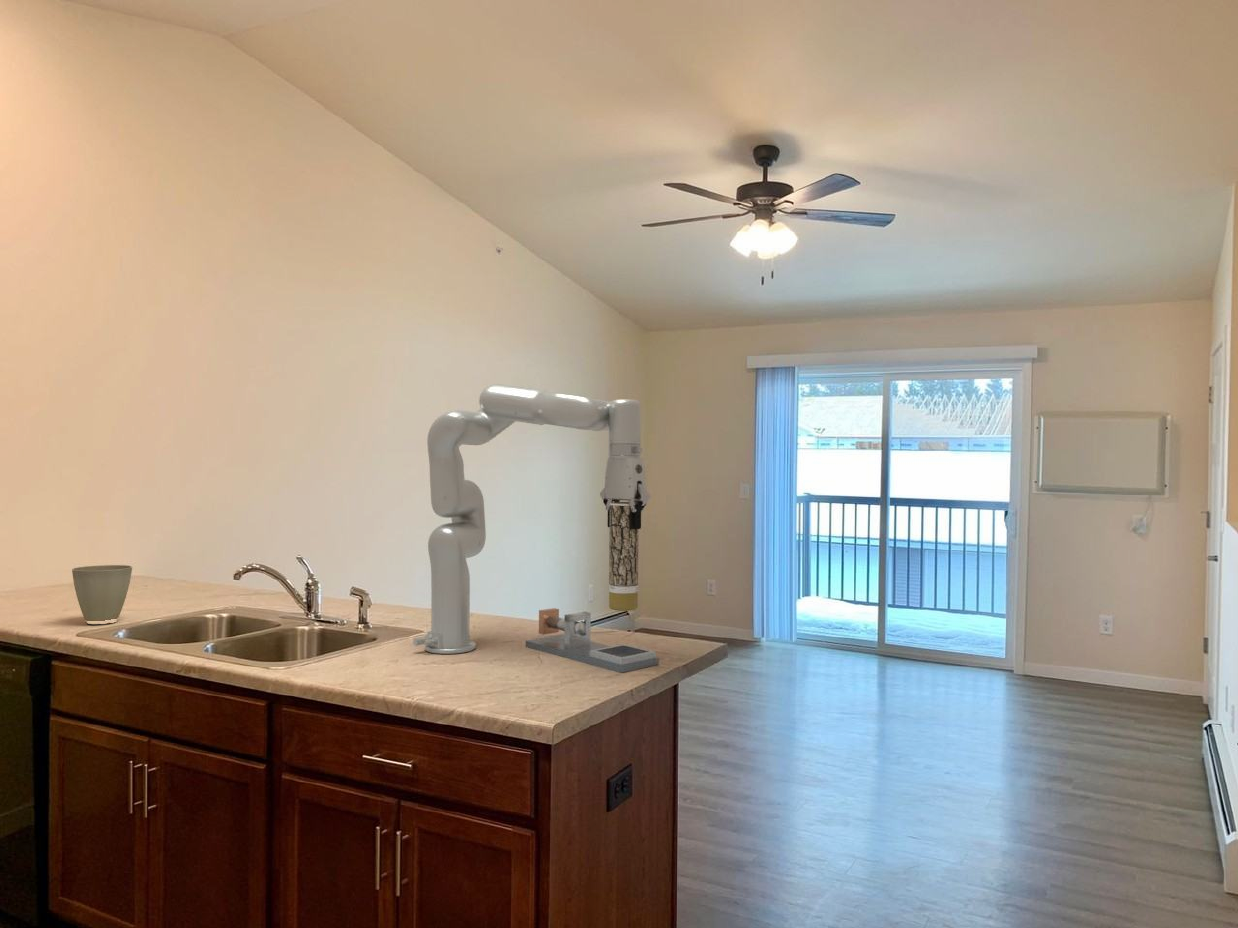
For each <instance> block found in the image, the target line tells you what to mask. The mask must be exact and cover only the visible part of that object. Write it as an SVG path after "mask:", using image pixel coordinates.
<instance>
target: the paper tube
mask: <svg viewBox="0 0 1238 928" xmlns="http://www.w3.org/2000/svg"><path fill="white" fill-rule="evenodd" d="M634 503H635V505H636V502H634ZM630 512H632V510H631V507H630V504H629V501H620V502H614V501H613V502H610V527H609V535H608V536H609V541H608V542H609V544H608V545H609V546H608V547H609V548H608V549H609V551H608V552H609V555H608V556H609V557H608V558H609V559H608V560H609V561H608V563H609V564H608V567H609V568H608V571H609V573H608V583H609V584H608V607H609V609H611V610H613V611H617V612H629V611H634V610H637V609H638V608H639V607H638V605H639V603H638V602H639V597H638V596H639V594H638V593H639V529H630V528H629V519H630Z"/></svg>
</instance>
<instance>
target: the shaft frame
mask: <svg viewBox="0 0 1238 928" xmlns="http://www.w3.org/2000/svg"><path fill="white" fill-rule="evenodd" d="M591 615H592V614H591V612H588V611H583V612H574V613H569V614H564V619H565V620H564V631H563V633H564V634H555V635H551V636H550V635H549V636H545V637H538V638H533V639H532V638H531V639H526V640H525V641H524V643H525V647H526V648H530V649H533V650H536V649H537V650H538V651H540V650H541V652H544V653H548V654H551V655H555V656H559V657H562V658H566V659H569V660H572V661H573V660H574V661H578V662H581V663H585V664H588V665H590V666H591V665H592V666H595V667H599V668H602V669H607V670H610V671H614V672H617V673H621V674H622V673H627V672H631V671H636V670H641V669H644V668H648V667H649V668H650V667H655V666H658V665H660V662H659V661H660V660H659V659H660V658H659V657H657V655H656V654H657V651H655V650H650V649H646V648H641V647H637V646H633V645H630V644H625V643H622V644H619V645H617V644H615V645H608V644H602V643H599V642H594V641H592V640H591V624H592V623H591V622H592V621H591V620H592V619H591ZM574 621H577V622H581V623H584V624H585V625H586V631H585V633H584V634H583V635H579V634H574Z"/></svg>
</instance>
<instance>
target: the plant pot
mask: <svg viewBox="0 0 1238 928" xmlns="http://www.w3.org/2000/svg"><path fill="white" fill-rule="evenodd" d="M132 571H133V566H132V565H127V564H126V565H125V564H102V565H99V564H98V565H89V566H88V565H87V566H85V565H84V566H79V567H77V566H76V567H73V568H72V569H71V573H72V579H73V580H72V581H73V586H74V590H75V594H76V599H77V602H78V606H79V608H80V611H81V614H82V616H83V618H84V621H85V620H86V621H105V620H111V619H117V618H118V619H119V617H120V615H121V612H122V610H123V607H124V605H125V602H126V598H127V594H128V591H129V587H130V582H131V577H132ZM86 621H85V622H86Z"/></svg>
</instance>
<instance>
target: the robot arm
mask: <svg viewBox="0 0 1238 928" xmlns="http://www.w3.org/2000/svg"><path fill="white" fill-rule="evenodd" d="M478 403H479V407H480V409H478V410H477V411H469V410H460V409H459V410H451V411H447V412H445V413H443V414H441V415H439V416H438V417H437V418H436V419H435V420H434V421H433V422H432V424H431V426H430V428H429V431H428V433H427V439H426V440H427V443H426V444H427V454H428V461H429V462H428V463H429V464H428V465H429V486H430V501H431V502H430V504H431V508H432V510H433V512H434V513H435V515H437V516H438V517H440V518H446V519H449V518H451V522H448V523H444V524H441V525H439V526H437V527H436V528H435V529H433V530H432V532H431V533H430V535H429V538H428V542H427V549H428V550H427V551H428V557H429V562H430V563H429V564H430V572H431V573H430V574H431V575H430V576H431V577H430V579H431V581H430V583H431V585H430V586H431V588H430V589H431V593H430V594H431V598H430V599H431V604H430V605H431V607H430V609H431V613H430V614H431V615H430V616H431V618H430V619H431V621H430V623H431V624H430V629H431V630H429V631H427V633H426V634H425V635H424V636H417V637H413V639H412V640H413V642H412V643H413V645H414V646H416V647H417V646H422V645H423V646H424V650H425V651H426V652H427V653H431V654H441V655H445V654H447V655H448V654H449V655H450V654H452V655H453V654H461V653H463V654H464V653H466V652H468V653H469V652H471V651H473V650H475V649H476V648H477V646H476V642H475V641H473V640H470V618H471V617H470V614H471V613H470V611H471V610H470V609H471V608H470V604H471V602H470V601H471V598H470V597H471V593H470V592H471V590H470V589H471V586H470V585H471V580H470V579H471V578H470V576H471V575H470V570H469V566H468V561H467V559H468V558H470V559H471V558H472V557H475V556H477V555H479V554H480V553H481V552H482V551H483V549H484V547H485V544H486V536H487V535H486V534H487V533H486V532H487V531H486V519H485V518H486V516H485V515H486V514H485V500H484V496H483V492H482V490H481V489H480V486H478V485H477V484H476V483H475V482H474V481H472V480H469V479H466V478H465V473H464V472H465V471H464V469H465V467H464V466H465V465H464V460H463V456H462V453H461V451H460V446H462V445H464V446H465V445H466V446H481V445H485V444H486V443H489V442H490V441H491V440H493V439H495V438H496V437H497V436H498V435H499V434H501V433H503V432H504V431H505V430H506V429H508V428H509V427H510V426H511V425H513V424H514V423H515V422H519V423H526V424H532V425H538V426H543V425H549V426H558V427H563V428H570V429H577V430H581V431H582V430H584V431H594V432H604V431H608V457H607V460H606V461H607V462H606V467H605V474H604V477H605V478H604V488H602V490H601V491H600V493H599V496H600V497H601V500H602V501H603V504H604V506H605V511H607V527H608V528H610V502H621V501H627V502H629V504H630V507H631V510H632V512H630V519H629V528H630V529H638V530H641V529H642V512H644V509H645V507H646V506H647V504H648V502H649V500H650V498H651V495H650V493H649V492H648V491H647V475H646V468H645V462H644V458H642V457H641V455H642V454H641V453H642V452H643V448H642V447H641V446H642V445H641V444H642V442H641V441H642V440H641V438H642V435H641V434H642V429H641V428H642V406H641V402H640V401H638V400H636V399H632V398H631V399H629V398H627V399H625V398H619V399H613V400H612V401H610V400H609V401H608V400H602V399H597V398H592V397H586V396H580V395H579V396H578V395H572V394H571V395H570V394H564V393H563V394H562V393H556V392H550V391H548V390H546V389H540V388H539V389H537V388H532V387H530V388H529V387H524V386H522V387H521V386H515V385H507V384H499V383H497V384H495V383H494V384H490V385H487V386H486V387H485V388H484V389H483V390H482V391H481V393H480V395H479V402H478ZM634 502H636V505H635V503H634Z"/></svg>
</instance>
